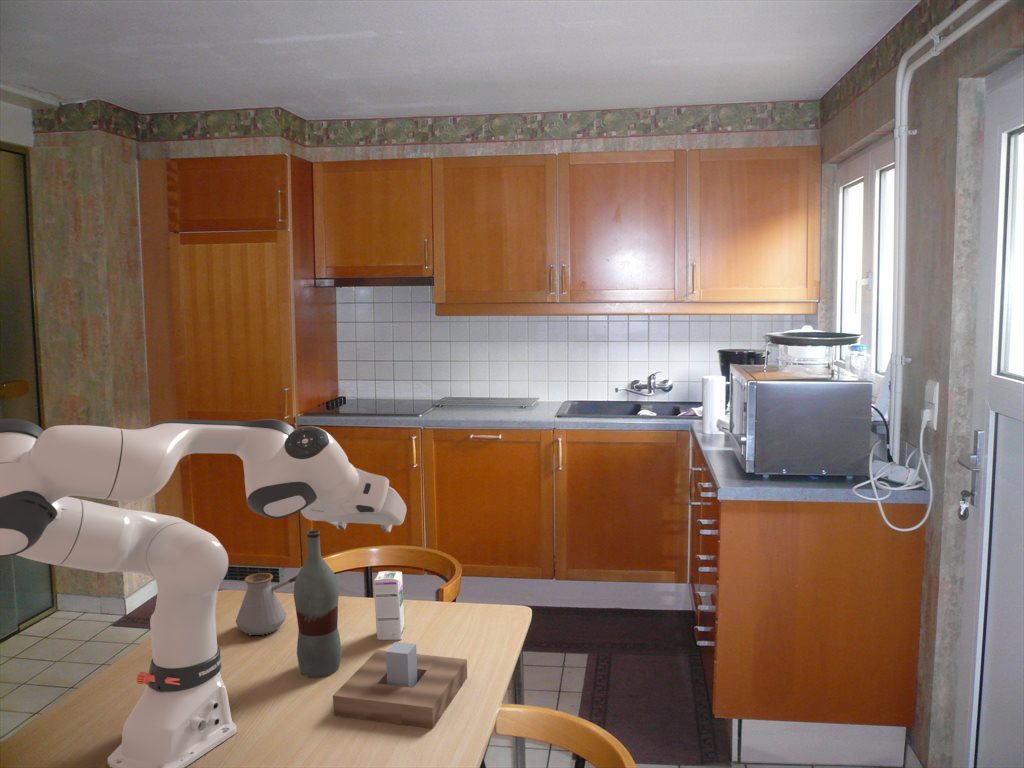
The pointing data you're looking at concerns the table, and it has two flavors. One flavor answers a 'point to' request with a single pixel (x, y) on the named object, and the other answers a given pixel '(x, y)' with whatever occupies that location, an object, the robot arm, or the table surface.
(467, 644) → the table surface
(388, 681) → the peg
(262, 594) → the coffee pot
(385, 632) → the syrup box
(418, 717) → the socket block
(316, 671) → the bottle
